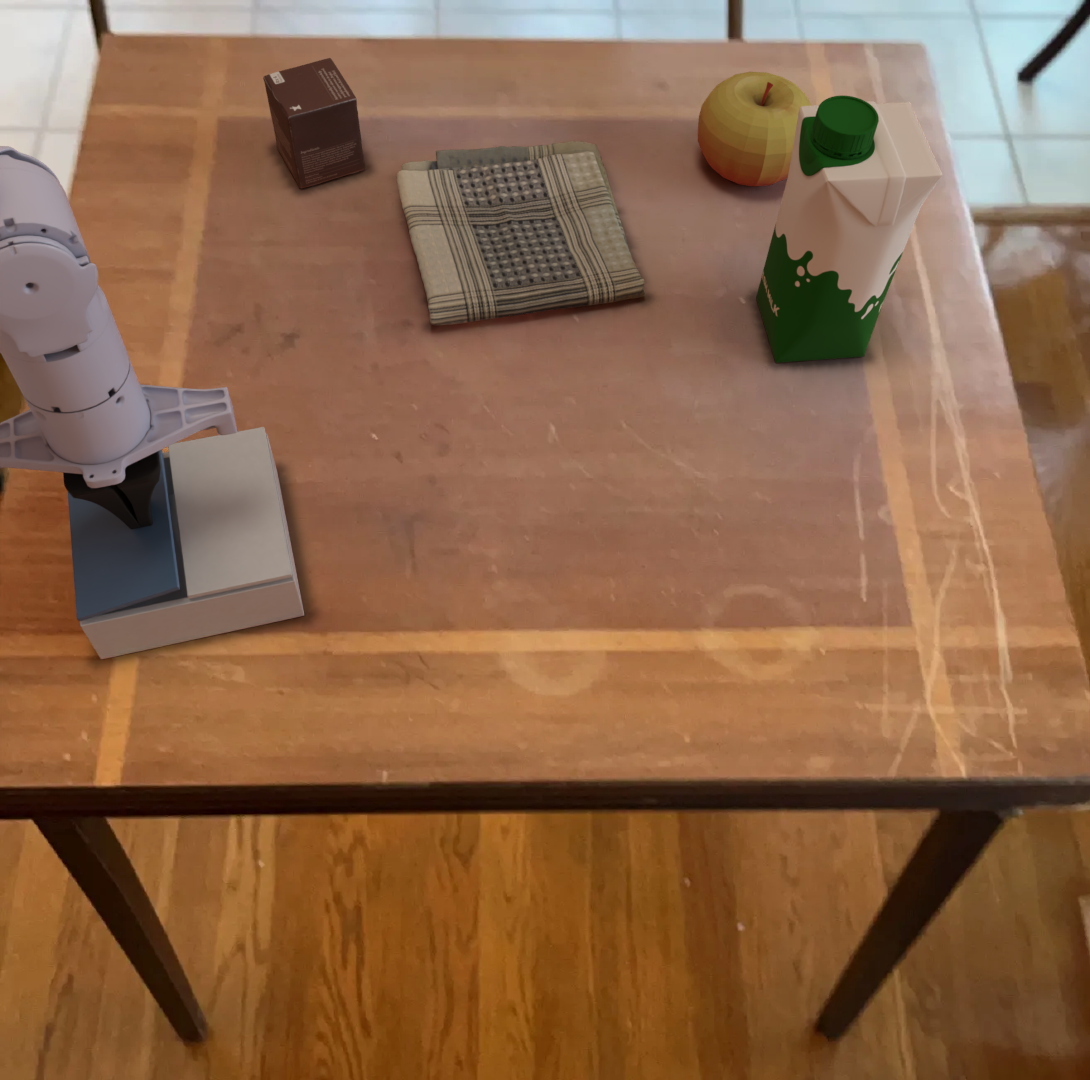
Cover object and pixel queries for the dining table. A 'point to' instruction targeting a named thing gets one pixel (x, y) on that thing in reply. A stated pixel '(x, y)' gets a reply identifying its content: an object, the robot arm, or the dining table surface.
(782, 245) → the milk carton
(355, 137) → the box
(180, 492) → the carton
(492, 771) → the dining table surface
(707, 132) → the apple
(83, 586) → the flap
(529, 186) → the dish towel
